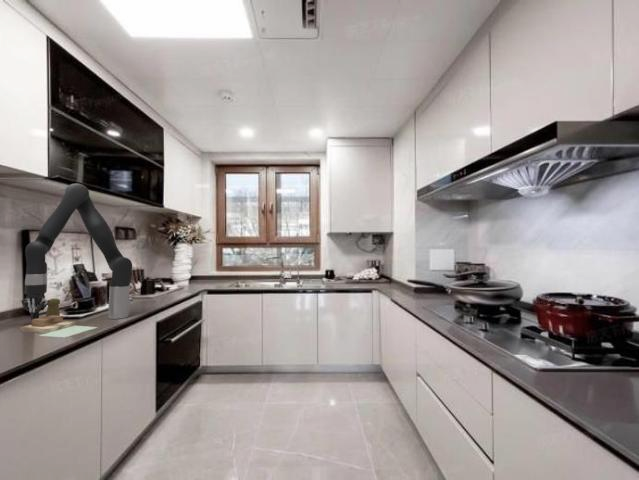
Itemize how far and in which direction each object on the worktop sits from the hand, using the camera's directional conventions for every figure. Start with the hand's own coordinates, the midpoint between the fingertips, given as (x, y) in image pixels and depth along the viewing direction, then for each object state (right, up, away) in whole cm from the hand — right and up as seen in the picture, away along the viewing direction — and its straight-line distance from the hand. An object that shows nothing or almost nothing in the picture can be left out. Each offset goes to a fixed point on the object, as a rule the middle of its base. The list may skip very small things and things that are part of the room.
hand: (34, 320), depth 137 cm
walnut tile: (+7, 0, -1) cm, 7 cm away
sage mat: (+21, -4, -5) cm, 23 cm away
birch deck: (+8, -4, -1) cm, 9 cm away
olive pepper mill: (-3, -4, +13) cm, 14 cm away
